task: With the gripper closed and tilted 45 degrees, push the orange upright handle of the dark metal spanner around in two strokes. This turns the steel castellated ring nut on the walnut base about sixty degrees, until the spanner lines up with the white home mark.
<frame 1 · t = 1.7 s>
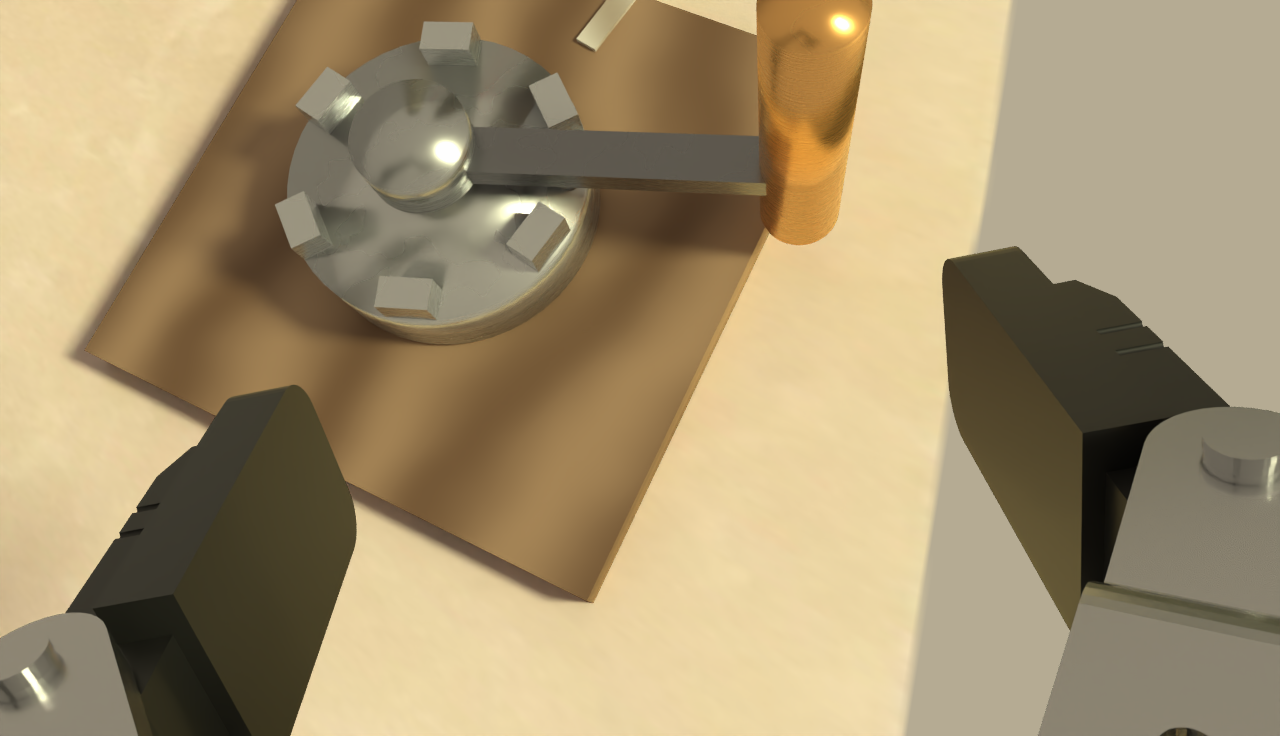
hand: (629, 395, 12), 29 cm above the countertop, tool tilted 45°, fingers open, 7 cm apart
base plate: (469, 223, 44), on the countertop
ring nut: (531, 125, 35), point 9 cm above the countertop, hinge at 0.0°
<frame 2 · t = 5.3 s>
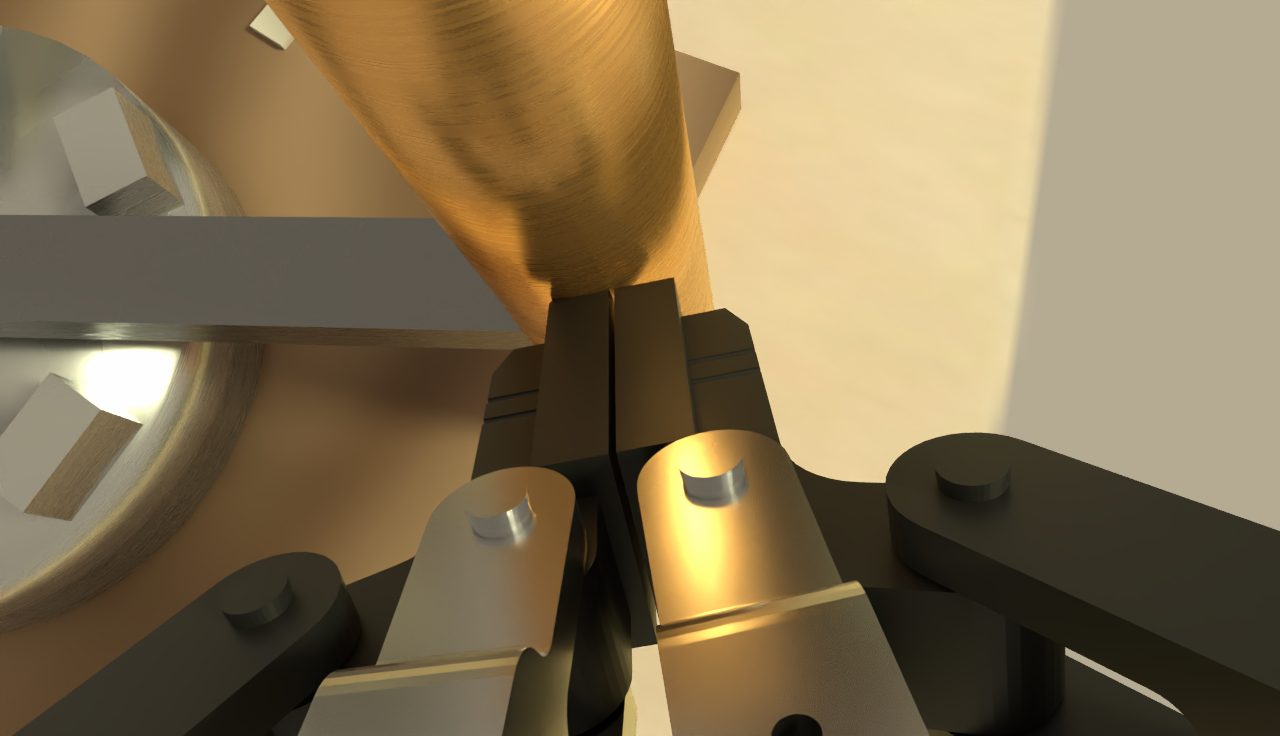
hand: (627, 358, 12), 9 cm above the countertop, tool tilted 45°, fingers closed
base plate: (56, 371, 24), on the countertop
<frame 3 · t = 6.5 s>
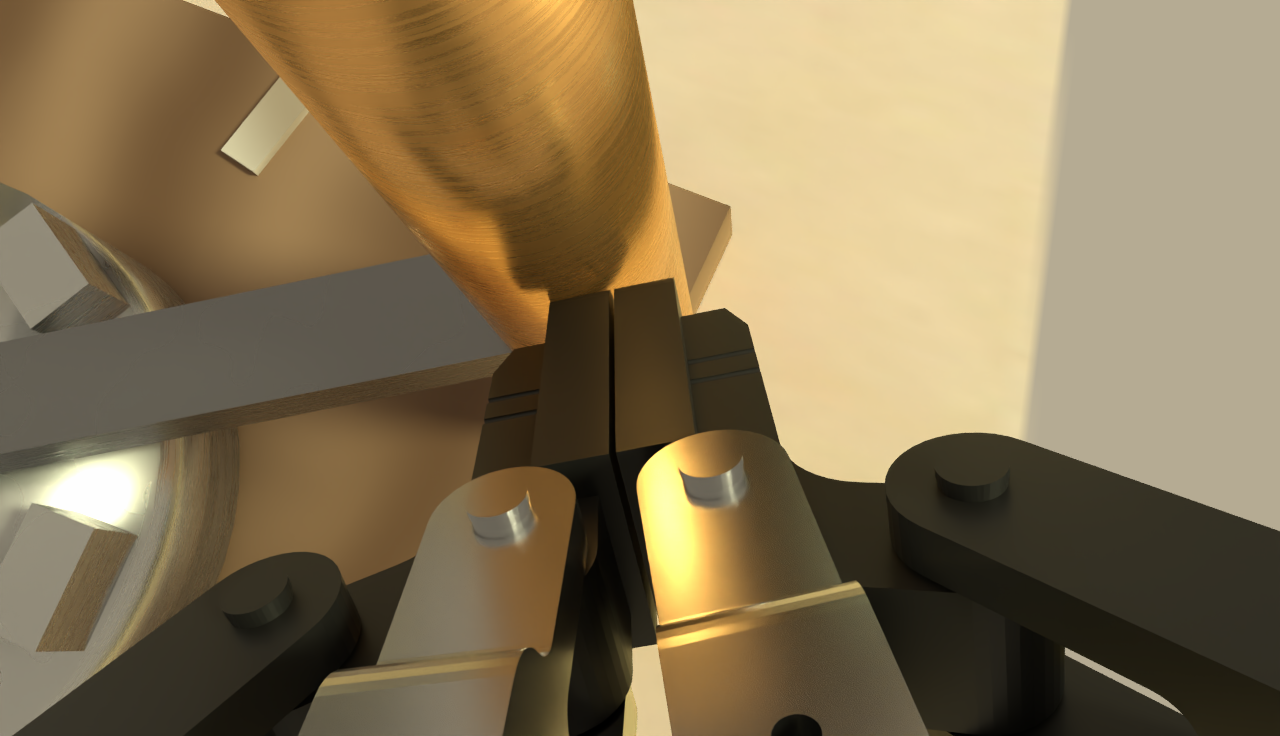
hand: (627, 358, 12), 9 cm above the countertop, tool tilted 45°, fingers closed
base plate: (21, 509, 23), on the countertop
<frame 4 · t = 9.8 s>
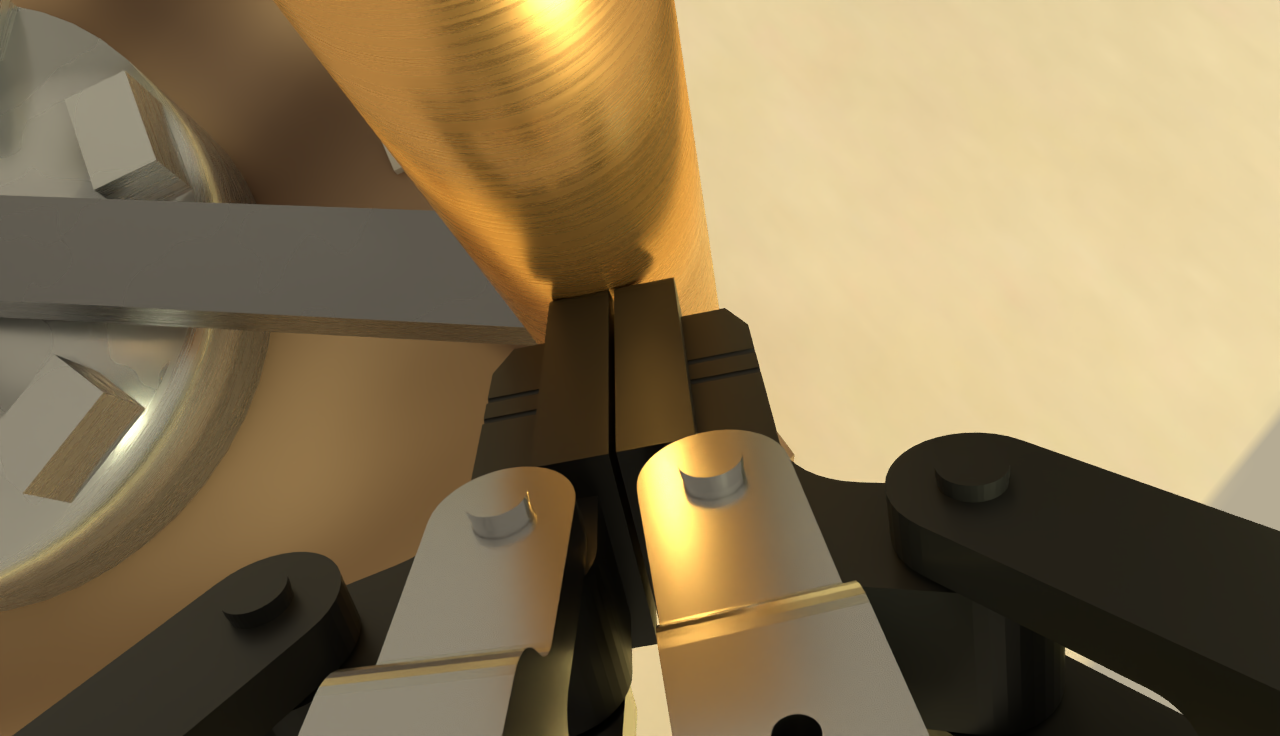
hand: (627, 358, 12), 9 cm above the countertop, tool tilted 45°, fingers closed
base plate: (63, 352, 24), on the countertop
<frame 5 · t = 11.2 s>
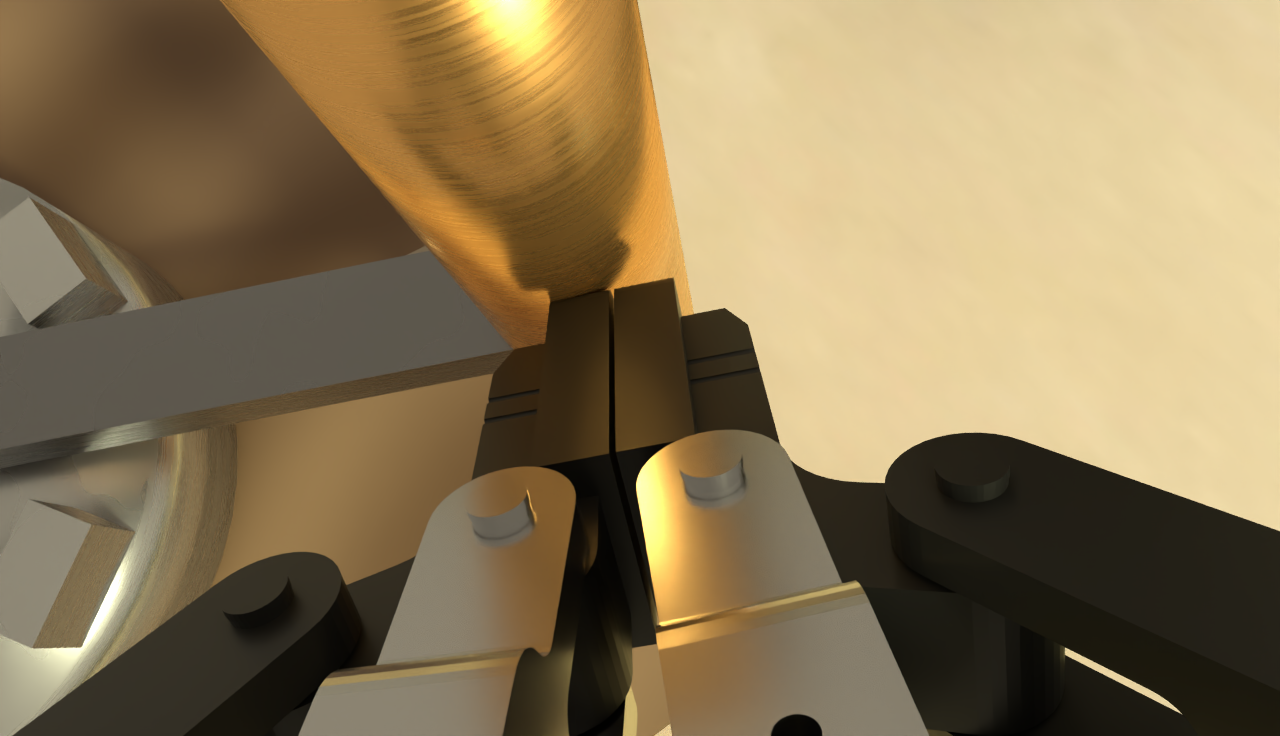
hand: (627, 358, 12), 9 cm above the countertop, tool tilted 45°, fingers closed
base plate: (18, 505, 23), on the countertop
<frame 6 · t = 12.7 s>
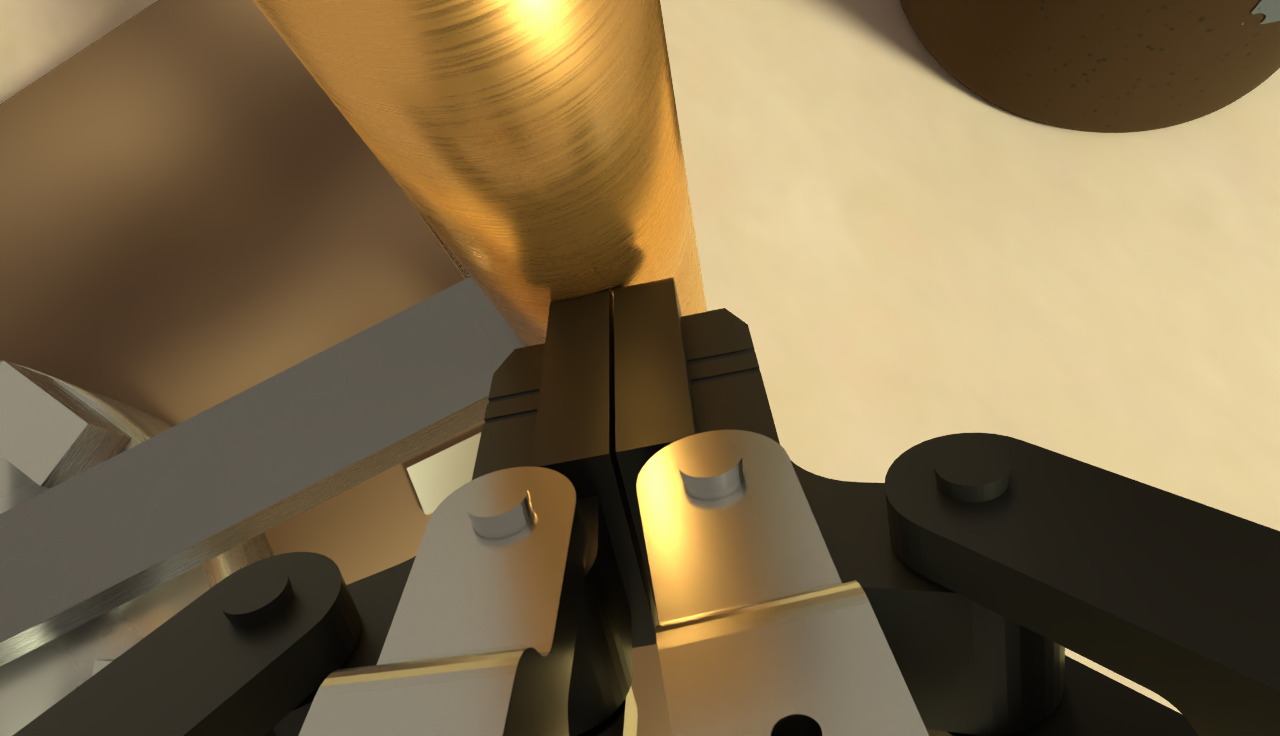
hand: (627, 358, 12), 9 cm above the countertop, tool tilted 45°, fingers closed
base plate: (56, 687, 22), on the countertop
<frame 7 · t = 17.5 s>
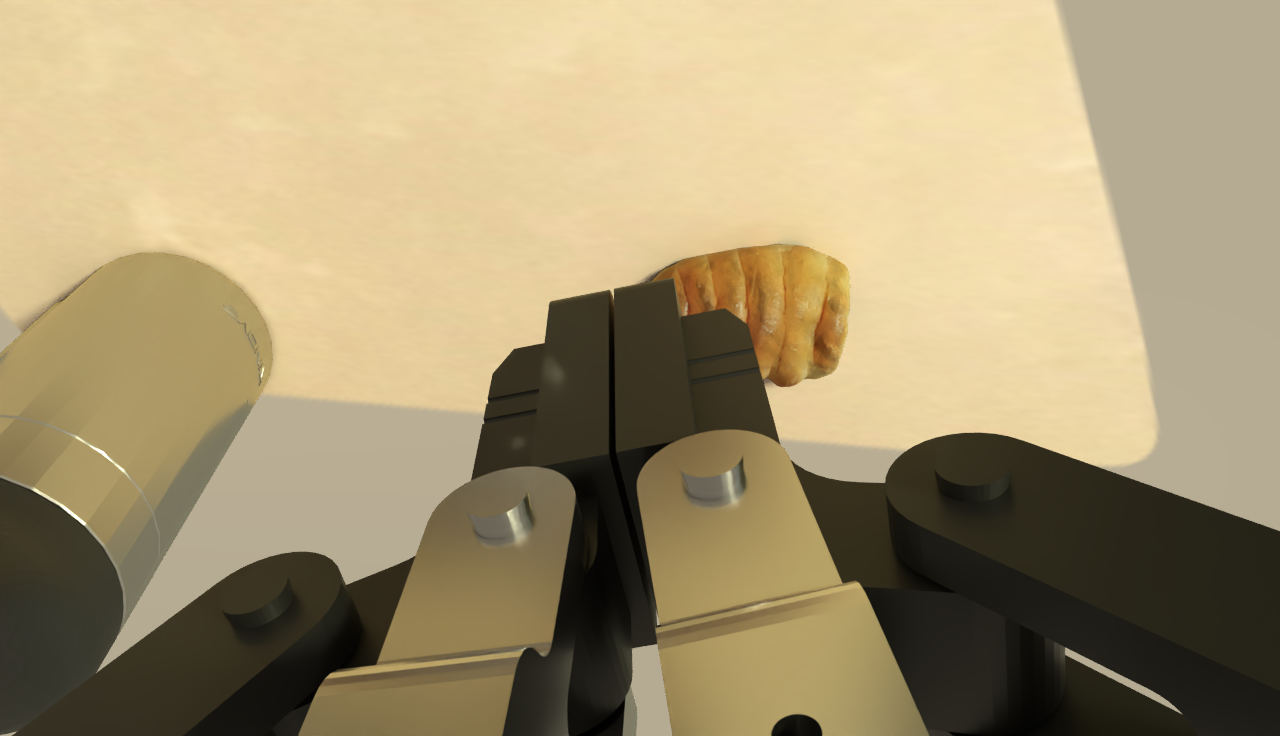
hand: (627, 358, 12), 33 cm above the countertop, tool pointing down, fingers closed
pastry: (756, 303, 49), on the countertop
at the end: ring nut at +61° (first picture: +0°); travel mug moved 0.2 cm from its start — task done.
